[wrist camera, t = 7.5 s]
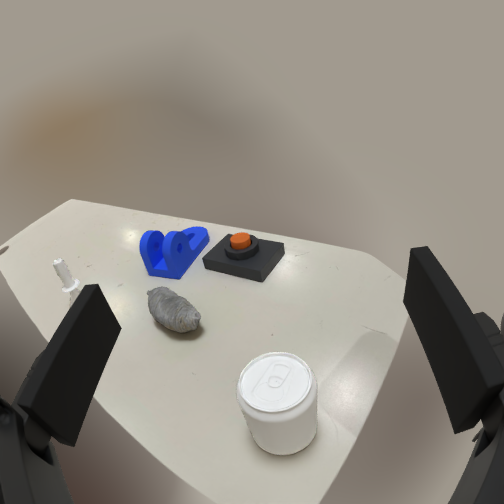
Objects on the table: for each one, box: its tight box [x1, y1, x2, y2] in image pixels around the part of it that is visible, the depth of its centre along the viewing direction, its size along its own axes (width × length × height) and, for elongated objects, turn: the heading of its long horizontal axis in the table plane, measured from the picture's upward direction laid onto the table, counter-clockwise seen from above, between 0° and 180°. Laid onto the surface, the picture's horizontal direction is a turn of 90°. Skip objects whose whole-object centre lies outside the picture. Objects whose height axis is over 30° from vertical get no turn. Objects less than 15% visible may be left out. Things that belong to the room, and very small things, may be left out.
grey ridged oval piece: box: [147, 287, 201, 333], centre depth 54 cm, size 6×14×8 cm, turn 48°
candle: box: [53, 258, 81, 307], centre depth 61 cm, size 5×5×12 cm
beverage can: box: [236, 352, 317, 455], centre depth 32 cm, size 8×8×12 cm
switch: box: [230, 233, 251, 250], centre depth 65 cm, size 4×4×2 cm
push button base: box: [202, 234, 285, 282], centre depth 66 cm, size 14×10×4 cm
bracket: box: [140, 227, 209, 279], centre depth 72 cm, size 18×8×9 cm, turn 160°
